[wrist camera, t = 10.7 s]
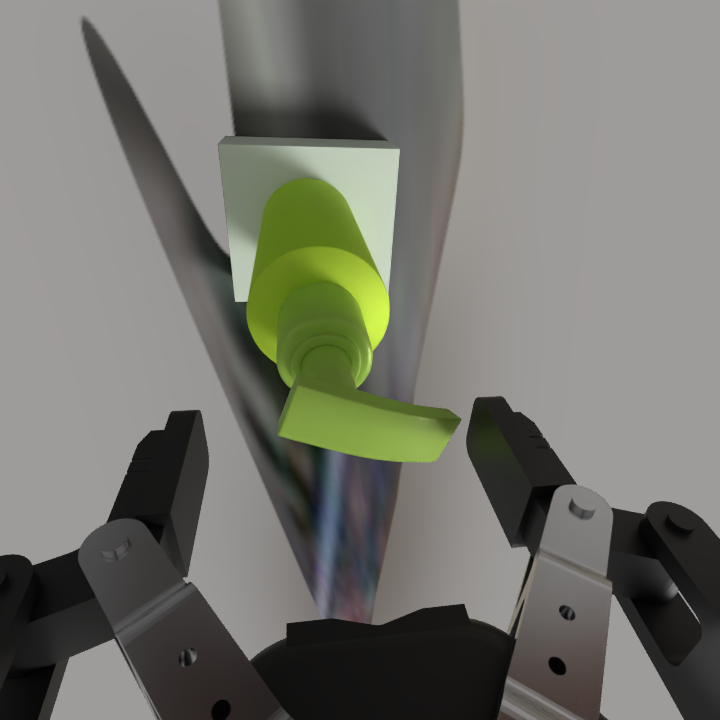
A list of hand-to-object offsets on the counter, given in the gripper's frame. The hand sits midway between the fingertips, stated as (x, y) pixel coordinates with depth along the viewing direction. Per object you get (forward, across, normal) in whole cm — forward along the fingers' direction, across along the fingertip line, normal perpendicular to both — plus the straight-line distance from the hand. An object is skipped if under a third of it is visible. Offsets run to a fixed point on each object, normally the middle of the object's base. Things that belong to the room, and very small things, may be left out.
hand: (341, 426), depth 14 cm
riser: (+24, 0, 0) cm, 24 cm away
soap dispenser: (+20, 0, 0) cm, 20 cm away
